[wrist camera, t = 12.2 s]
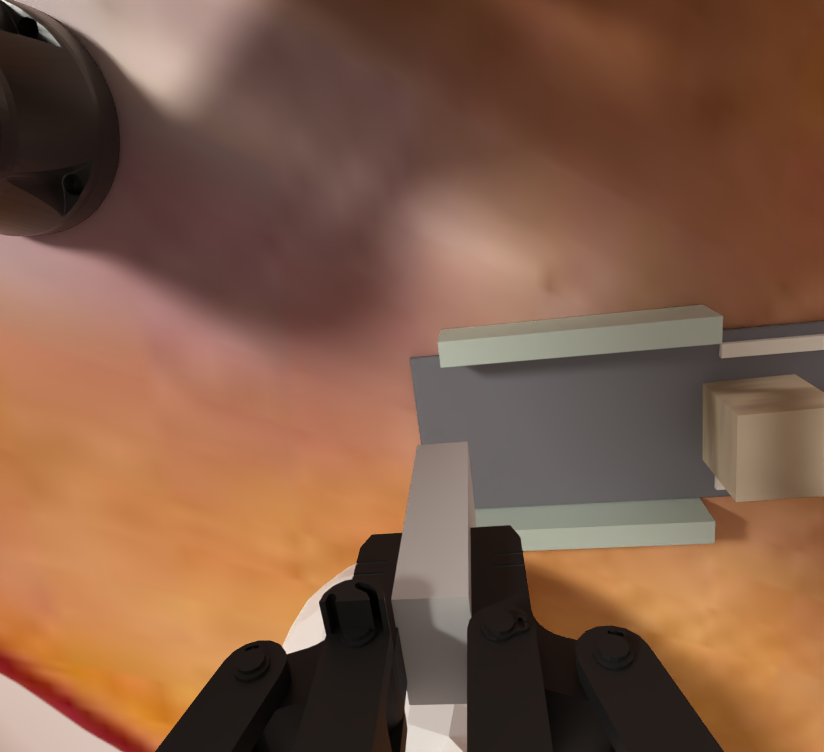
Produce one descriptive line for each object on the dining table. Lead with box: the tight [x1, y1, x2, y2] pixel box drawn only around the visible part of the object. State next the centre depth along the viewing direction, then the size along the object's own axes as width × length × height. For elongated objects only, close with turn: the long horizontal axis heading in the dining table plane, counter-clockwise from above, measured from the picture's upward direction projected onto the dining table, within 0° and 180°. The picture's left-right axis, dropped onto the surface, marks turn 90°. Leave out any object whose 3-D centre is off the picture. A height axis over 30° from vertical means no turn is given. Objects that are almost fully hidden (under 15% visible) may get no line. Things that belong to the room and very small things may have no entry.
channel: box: [438, 305, 723, 551], centre depth 42 cm, size 18×17×4 cm
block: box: [703, 374, 824, 502], centre depth 39 cm, size 6×6×6 cm
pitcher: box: [282, 564, 467, 752], centre depth 39 cm, size 19×18×25 cm
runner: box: [410, 321, 824, 509], centre depth 43 cm, size 30×13×1 cm, turn 97°
